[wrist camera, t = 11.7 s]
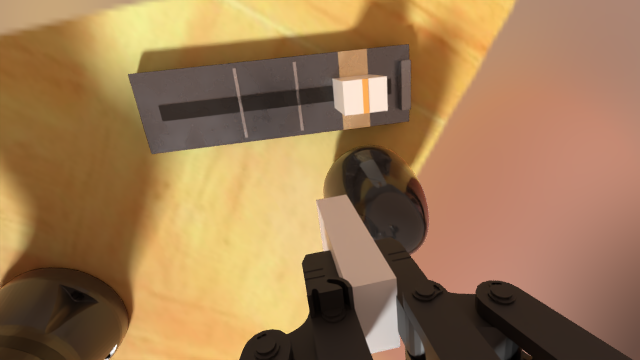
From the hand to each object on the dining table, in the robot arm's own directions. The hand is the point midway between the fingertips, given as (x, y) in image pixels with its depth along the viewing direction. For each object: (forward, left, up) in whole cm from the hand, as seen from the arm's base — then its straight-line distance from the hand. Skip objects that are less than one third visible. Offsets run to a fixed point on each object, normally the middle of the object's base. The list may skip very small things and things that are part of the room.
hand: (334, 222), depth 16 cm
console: (-2, +4, -23) cm, 23 cm away
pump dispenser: (+6, -7, -23) cm, 25 cm away
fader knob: (+6, +4, -20) cm, 22 cm away
